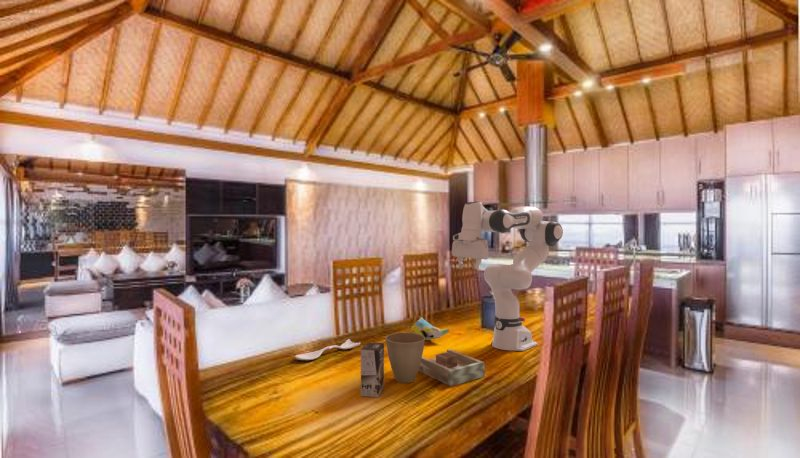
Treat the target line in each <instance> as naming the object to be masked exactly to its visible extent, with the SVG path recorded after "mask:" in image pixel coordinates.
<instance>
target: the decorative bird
mask: <svg viewBox="0 0 800 458" xmlns="http://www.w3.org/2000/svg"><path fill="white" fill-rule="evenodd" d="M410 328H411V329H412V330H413V331H411V330H409V329H410ZM406 329H408V331H409V332H408V333H416V334H420V335H423V336H424V337H425V341H431V340H436V339H440V338H441V337H443V336H444V335H446V334H448V333H449V332H450V330H449V328H443V329H440V327H436V326H433V325H432V324H430V322H428V321H426V320H425V319H424V318H423V317H421V318H419V319H417V321H416V322H415V323H414V324H413V325H412V326H409V325H408V324H407V327H406Z"/></svg>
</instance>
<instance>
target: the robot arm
mask: <svg viewBox="0 0 800 458" xmlns="http://www.w3.org/2000/svg"><path fill="white" fill-rule="evenodd" d="M462 209H463V210H462V216H461V217H462V220H461V221H462V227H461V230H460V231H461V232H458V233H457V234H454V235H453V236H452V240H453V242H452V243H451V245H452V246H451V254H452V255H451V256H452V257H456V258H457V261H458V267H459V268H464V267H465V263H464V262H463V260H464V258H466V259H468V258H469V259H475V264H473V270H479V269H480V265H481V264H482V260H487V259H488V258H489V253H490V252H489V240H488V239H487V238H486V237H482V232H483V233H487V232H488V233H501V234H503V233H507V232H509V231H510V230H511V229H512V228H513V229H519V235H520V237H521V240H523V241H525V242H526V243H529V245H527V246H525V247H524V248H523V249H522V250H520V251H519V252H517V253H516V254H515V255H514V256H513V260H512V263H511V264H501V263H494V264H490V265H487V266H486V267H485V269H484V272H483V278H484V281H485V282H486V283H487V285H488V286H489V288H490V289H491V292H492V295H493V298H494V308H495V310H494V311H495V312H494V313H495V316H494V327H493V328H494V329H493V339H492V340H491V342H492V345H491V346H492V347H493V348H495V349H497V350H501V351H502V350H503V351H517V352H524V351H526V350H529V349H531V348H533V347H536V346H538V342H536V341H535V340H533V337H532V336H533V335H532V332H531V331H530V330H529V329H528V328H527V327H526V326H525V325H524V324H523V322H526V320H527V319H526V317H524V316H521V317H520V301H519V299H518V298H517V297H516V296H515V294H514V293H513V291H512V290H526V289H528V288H530V286H531V284H532V282H533V275H532V274H533V271H535V270H536V269H537V268H538V267H539V266H541V265H542V263H544V261H546V259H547V258H548V256H549V254H550V249H549V247H554V246H555V245H556V244H557V243H558V242H560V240H561V239H562V237H563V233H564V232H563V231H564V230H563V226H562V225H561V224H560V223H559V222H556V221H552V220H551V221H547V220H545V221H544V220H543V218H544V216H543V212H542V210H541V209H540V208H538V207H535V206H529V205H526V206H523V205H522V206H517V207H514V208H512V209H511V210H510V211H508V210H507V209H499V210H488V209H487V208H485V207H484V205H483V203H482V202H481V201H469V202H466V203H465V204H464V206H463V208H462Z"/></svg>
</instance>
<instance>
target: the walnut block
mask: <svg viewBox="0 0 800 458" xmlns="http://www.w3.org/2000/svg"><path fill="white" fill-rule="evenodd" d="M435 358H436V363H438V364H440V365H443V366H445V367H447V368H451V367H455V366H457V356H456V355H453V354H451V353H448V352H447V351H446V352H442V353H438V354H435Z"/></svg>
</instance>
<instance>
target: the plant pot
mask: <svg viewBox="0 0 800 458" xmlns="http://www.w3.org/2000/svg"><path fill="white" fill-rule="evenodd" d="M385 342H386V349H387V350H386V351H387V357H388V361H389V363H390V368H391V371H392V374H393V376H394V379H395V381H396V382H397V383H401V384H409V383H413V382H414V381H415V380H416V378H417V375H418V372H419V371H418V369H419V366H420V363H421V359H422V357H423V353H424V348H425V342H426V340H425V337H424V336H423V335H420V334H416V333H410V332H395V333H394V332H393V333H391V334H387V335H386V336H385Z"/></svg>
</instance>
